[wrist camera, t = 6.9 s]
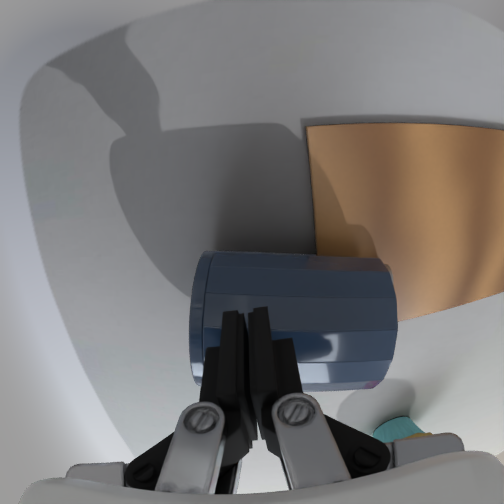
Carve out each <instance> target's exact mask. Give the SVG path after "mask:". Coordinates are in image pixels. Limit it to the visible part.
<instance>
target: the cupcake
mask: <svg viewBox="0 0 504 504" xmlns="http://www.w3.org/2000/svg"><path fill="white" fill-rule="evenodd" d="M427 435H433V434H432V433H430V432H429V433H425V432H423V431H422V430H421V429H420V428H418V427H417V426H416V425H415V424H414V423H413V421H412V420H411V419H410V418H408V417H398V418H395V419H392V420H389V421H387V422H386V423H384V424H382V425H381V426H379V427H378V428H377V429H376V430H375V432H374V434H373V438H376V439H378V440H380V441H382V442H383V443H386V442H393V440H394V439H404V438H412V437H420V436H427Z"/></svg>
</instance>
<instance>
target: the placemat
mask: <svg viewBox="0 0 504 504" xmlns="http://www.w3.org/2000/svg"><path fill="white" fill-rule="evenodd" d="M306 135H307V144H308V154H309V164H310V174H311V185H312V197H313V210H314V224H315V240H316V254H318V255H343V256H367V257H375V258H380V259H381V260H382V262H383V263H384V264H387V265H389V267H390V268H391V270H392V274H393V286H394V290H395V293H396V298H397V318H398V322H399V321H403V320H407V319H411V318H415V317H419V316H423V315H427V314H431V313H435V312H438V311H442V310H446V309H449V308H453V307H456V306H460V305H463V304H466V303H470V302H473V301H476V300H479V299H483V298H486V297H489V296H492V295H495V294H498V293H501V292H504V130H499V129H491V128H482V127H472V126H461V125H447V124H427V123H353V124H333V125H317V126H306Z"/></svg>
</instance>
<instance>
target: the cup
mask: <svg viewBox="0 0 504 504" xmlns="http://www.w3.org/2000/svg"><path fill="white" fill-rule="evenodd" d="M266 306H268V313H269V321H270V328H271V335H272V340H278V339H285V338H292V339H293V343H294V348H295V353H296V359H297V364H298V369H299V374H300V379H301V384H302V390H303V392H320V391H343V390H359V389H371V388H374V387H375V386H376V385H378V384H379V383H380V382H381V381H382V380H383V379H384V377H385V375H386V373H387V371H388V369H389V366H390V364H391V362H392V359H393V355H394V350H395V344H396V338H397V331H398V318H397V298H396V293H395V290H394V286H393V282H392V278H391V275H390V272H389V271H388V269H387V268H386V266H385V265H384V263H383V262H382V260H381V259H380V258H375V257H367V256H343V255H318V254H294V253H270V252H245V251H221V250H219V251H204V252H203V254H202V255H201V257H200V259H199V262H198V265H197V269H196V273H195V277H194V282H193V288H192V295H191V304H190V317H189V354H190V364H191V370H192V375H193V378H194V381H195V383H196V384H197V385H198V386H201V383H202V375H203V367H204V360H205V352H206V348H207V347H217V346H220V339H221V327H222V316H223V312H225V311H234V310H238V313H239V314H241V313H244V316H245V321H246V327H247V332H248V313H249V312H253V308H258V307H266Z"/></svg>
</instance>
